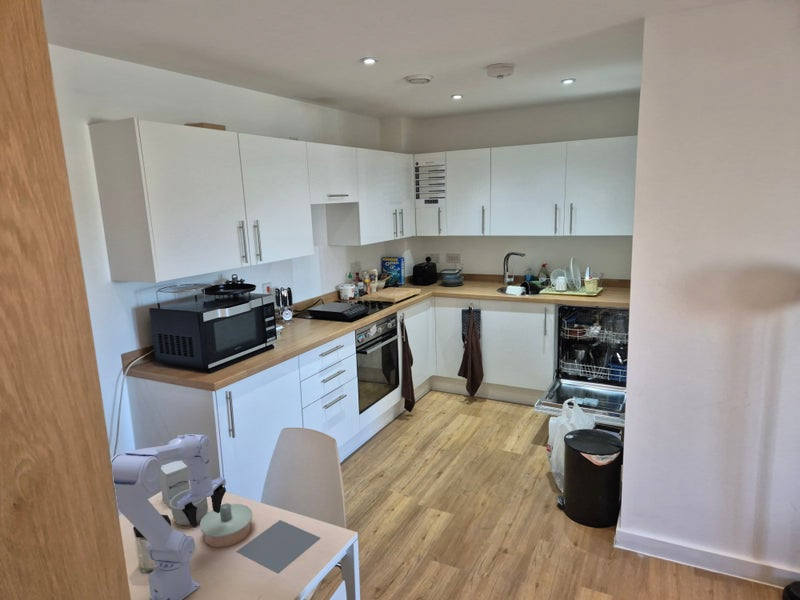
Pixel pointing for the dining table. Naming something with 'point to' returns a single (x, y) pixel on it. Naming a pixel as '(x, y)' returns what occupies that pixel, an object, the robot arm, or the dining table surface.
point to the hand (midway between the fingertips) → (205, 518)
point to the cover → (226, 520)
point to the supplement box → (173, 480)
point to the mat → (278, 546)
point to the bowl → (227, 538)
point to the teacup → (179, 514)
